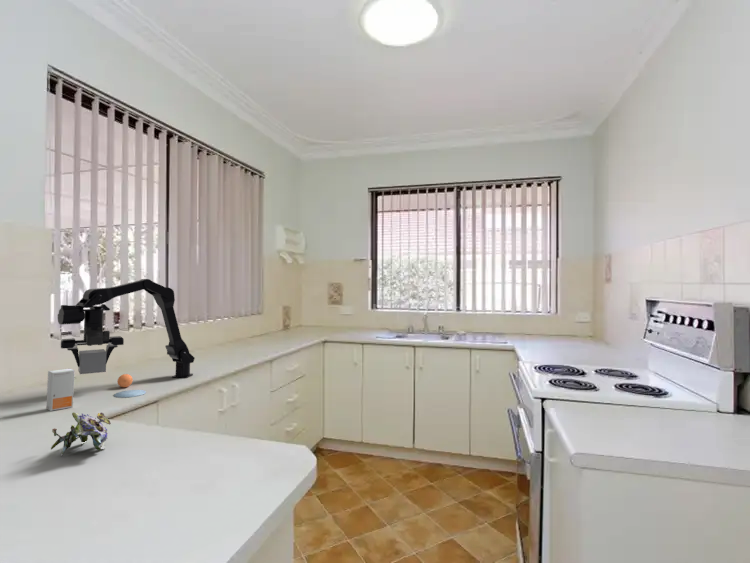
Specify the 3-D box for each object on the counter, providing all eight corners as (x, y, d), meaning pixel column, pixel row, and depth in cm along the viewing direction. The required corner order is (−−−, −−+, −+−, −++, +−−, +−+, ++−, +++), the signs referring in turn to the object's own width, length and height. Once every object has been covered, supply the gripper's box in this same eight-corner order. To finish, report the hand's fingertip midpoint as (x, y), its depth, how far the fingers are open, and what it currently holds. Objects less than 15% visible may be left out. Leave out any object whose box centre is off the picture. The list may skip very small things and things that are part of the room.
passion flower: (100, 472, 97) (115, 438, 94) (42, 477, 90) (57, 440, 87) (100, 434, 105) (115, 401, 102) (48, 435, 98) (61, 400, 94)
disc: (125, 390, 152) (125, 389, 152) (151, 390, 152) (151, 390, 152) (107, 397, 142) (107, 396, 142) (135, 397, 142) (135, 397, 142)
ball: (122, 385, 159) (122, 372, 159) (135, 385, 159) (135, 373, 159) (114, 388, 154) (114, 375, 154) (127, 389, 154) (127, 375, 154)
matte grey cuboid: (78, 370, 150) (78, 350, 150) (103, 368, 154) (103, 349, 155) (79, 374, 144) (80, 353, 144) (105, 371, 149) (106, 351, 149)
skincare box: (50, 411, 125) (51, 372, 126) (46, 409, 128) (47, 370, 128) (73, 407, 130) (74, 369, 130) (69, 404, 133) (70, 368, 133)
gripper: (62, 325, 137) (61, 372, 137) (126, 323, 149) (125, 366, 149) (61, 323, 146) (59, 366, 146) (121, 321, 158) (120, 361, 157)
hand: (92, 365), depth 149 cm, fingers closed on matte grey cuboid, 8 cm apart
